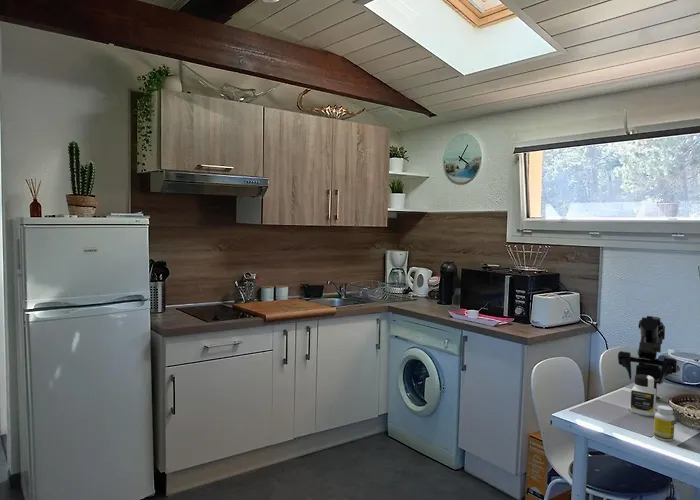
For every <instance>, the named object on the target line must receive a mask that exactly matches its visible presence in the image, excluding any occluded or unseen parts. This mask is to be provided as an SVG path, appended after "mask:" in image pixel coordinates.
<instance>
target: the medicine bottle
mask: <svg viewBox="0 0 700 500" xmlns="http://www.w3.org/2000/svg"><path fill="white" fill-rule="evenodd" d="M630 392H631V393H630V394H631V395H630V404H631V407H630V408H631V409H635V410H640V411H645V412H650V413H653V412H654V410H655V409H656V402H657V399H656V395H657V393H656V389H655V388H654V378H653V377H651V376H649V375H644V374H638V375H636V374H635V375H634V385H633V386H632V388H631V391H630Z"/></svg>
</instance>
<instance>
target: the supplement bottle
mask: <svg viewBox="0 0 700 500" xmlns="http://www.w3.org/2000/svg"><path fill="white" fill-rule="evenodd" d="M673 410H674V409H673V407H671V406H668V405H658V406H657V413H655V416H654V423H653V437H654V439H657V440H660V441H663V442H672V441H674V436H675V420H676V419H675V415H673V413H674V412H673Z"/></svg>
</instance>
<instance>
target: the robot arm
mask: <svg viewBox="0 0 700 500" xmlns="http://www.w3.org/2000/svg"><path fill="white" fill-rule="evenodd" d="M638 329H639V330H640V341H639V346H638V350H637V356H633V355H631V352H629V351H622V350H621V351H619V352H618V354H617V361H618V365H621V366H622V367H623V368H625V369H626V373H627V375H628V379H629V380H630V381H631V380H632V364H631V363H638V364H636V367H635V368H636V369H635V375H638V374H644V375H649V376H651V377H653V378H654V388H655V389H656V400H659V399H660V400H661V397H660V396H658V395H657V392H658V391H657V389H658V388H657V386H658V385H661V384H664V383H663V381H664V379H666V377H667V376H668V375H672V374H675V373H677V369H678V368H677V367H678V360H677V359H676V358H671V357H666V356H665V357H663V360H660V359H658V358H657V357H658V356H657V355H658V353H661V352H662V350H661V349H662V345H663V340H665V337H666V326H665V325H664V323H663V321H661V317H659V316H652V315H651V316H650V315H647V316H646V317H642V318H641V319H639V321H638ZM657 384H658V385H657Z"/></svg>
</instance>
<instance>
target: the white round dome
mask: <svg viewBox="0 0 700 500" xmlns="http://www.w3.org/2000/svg"><path fill="white" fill-rule="evenodd" d="M630 407H631V403H630V404H628V411H629V412H631V413H632V414H633V413H634V414H635V415H638V416H639V415H640V416H644V417H655V413H657V412H658V408H655V410H654V412H653V413H650V412H645V411H640V410H635V409H631V408H630Z"/></svg>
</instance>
